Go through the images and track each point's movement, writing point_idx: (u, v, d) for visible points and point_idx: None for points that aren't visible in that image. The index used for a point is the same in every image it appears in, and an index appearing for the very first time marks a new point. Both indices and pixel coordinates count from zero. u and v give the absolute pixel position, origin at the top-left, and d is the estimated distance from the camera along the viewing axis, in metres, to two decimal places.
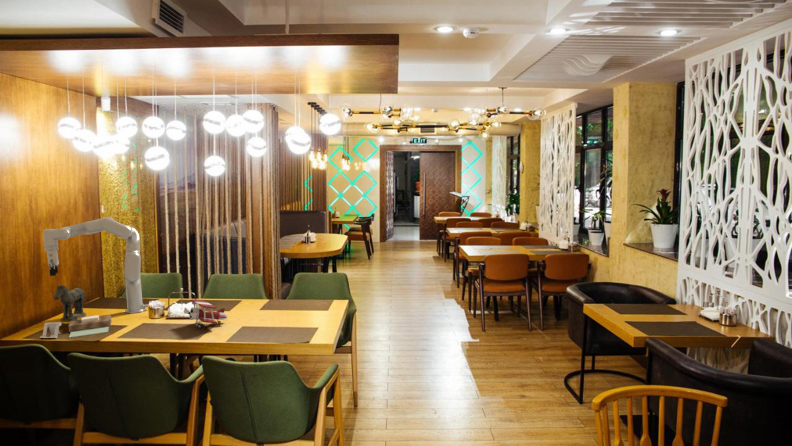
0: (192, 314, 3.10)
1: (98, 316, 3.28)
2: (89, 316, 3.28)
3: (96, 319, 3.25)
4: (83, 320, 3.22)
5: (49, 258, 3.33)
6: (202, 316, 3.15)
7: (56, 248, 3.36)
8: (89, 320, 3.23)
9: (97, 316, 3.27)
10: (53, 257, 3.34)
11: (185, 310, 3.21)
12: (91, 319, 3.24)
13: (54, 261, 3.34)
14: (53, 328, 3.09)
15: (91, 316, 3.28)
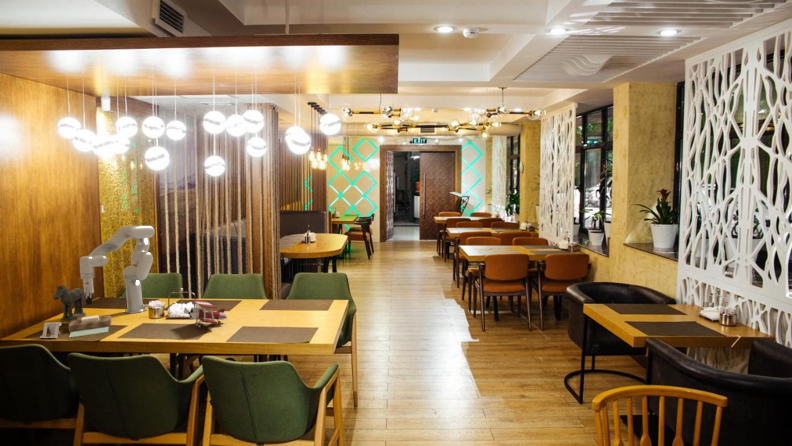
0: (192, 314, 3.10)
1: (98, 316, 3.28)
2: (89, 316, 3.28)
3: (96, 319, 3.25)
4: (83, 320, 3.22)
5: (85, 286, 3.28)
6: (202, 316, 3.15)
7: (92, 276, 3.32)
8: (89, 320, 3.23)
9: (97, 316, 3.27)
10: (89, 285, 3.29)
11: (185, 310, 3.21)
12: (91, 319, 3.24)
13: (90, 289, 3.29)
14: (53, 328, 3.09)
15: (91, 316, 3.28)
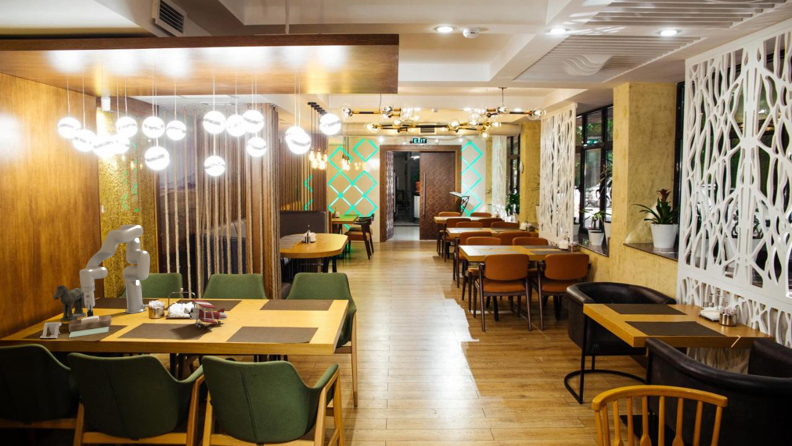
0: (192, 314, 3.10)
1: (98, 316, 3.27)
2: None
3: (96, 319, 3.24)
4: (83, 320, 3.21)
5: (86, 299, 3.23)
6: (202, 316, 3.15)
7: (93, 289, 3.27)
8: (89, 320, 3.23)
9: (97, 316, 3.27)
10: (90, 298, 3.24)
11: (185, 310, 3.21)
12: (91, 319, 3.23)
13: (90, 302, 3.24)
14: (53, 328, 3.09)
15: (91, 316, 3.27)
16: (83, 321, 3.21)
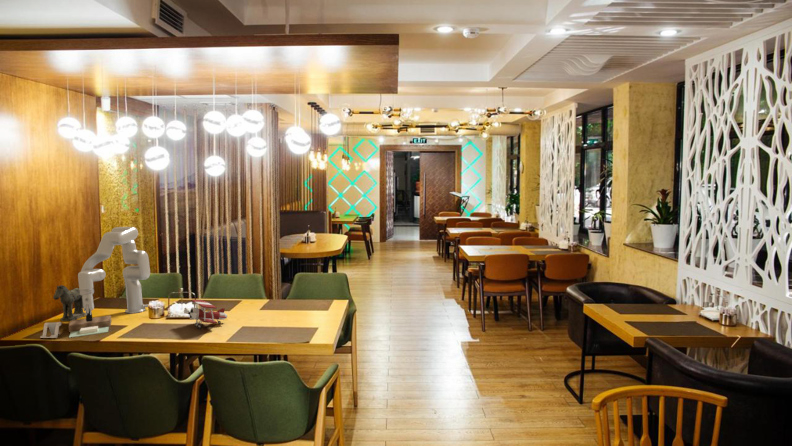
0: (192, 314, 3.10)
1: None
2: (88, 332, 3.12)
3: None
4: None
5: (85, 303, 3.14)
6: (202, 316, 3.15)
7: (92, 292, 3.18)
8: None
9: None
10: (89, 301, 3.15)
11: (185, 310, 3.21)
12: None
13: (89, 306, 3.16)
14: (53, 328, 3.09)
15: None
16: None
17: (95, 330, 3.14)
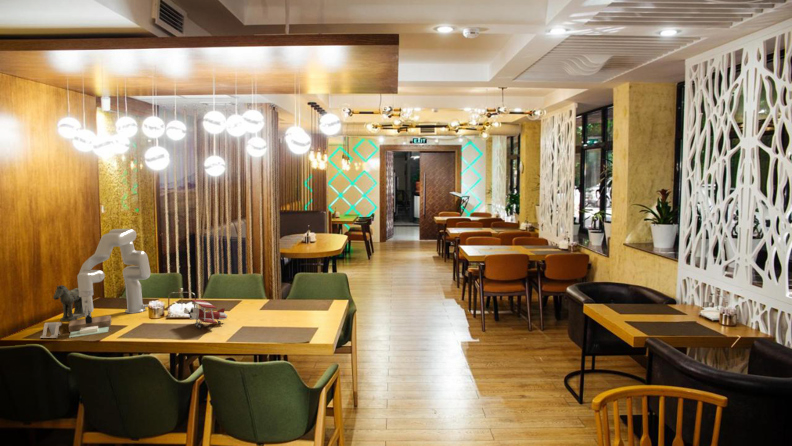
0: (192, 314, 3.10)
1: None
2: (88, 332, 3.12)
3: None
4: None
5: (84, 304, 3.10)
6: (202, 316, 3.15)
7: (91, 293, 3.14)
8: None
9: None
10: (88, 303, 3.11)
11: (185, 310, 3.21)
12: None
13: (89, 308, 3.11)
14: (53, 328, 3.09)
15: None
16: None
17: (95, 330, 3.14)
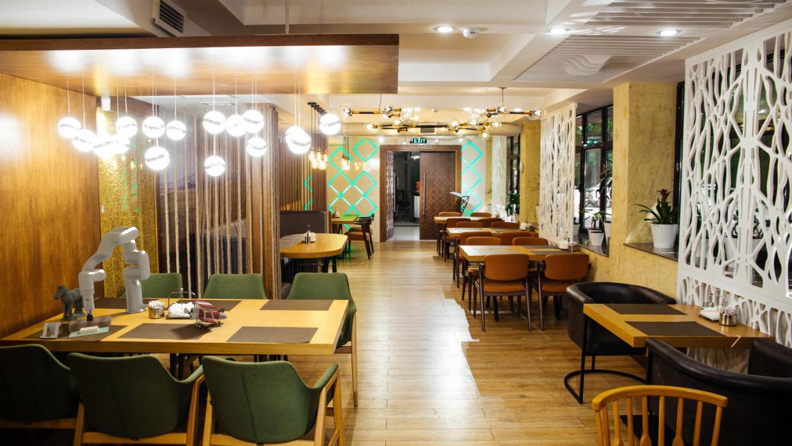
0: (192, 314, 3.10)
1: None
2: (88, 332, 3.12)
3: None
4: None
5: (85, 303, 3.16)
6: (202, 316, 3.15)
7: (92, 292, 3.19)
8: None
9: None
10: (89, 302, 3.17)
11: (185, 310, 3.21)
12: None
13: (90, 306, 3.17)
14: (53, 328, 3.09)
15: None
16: None
17: (95, 330, 3.14)
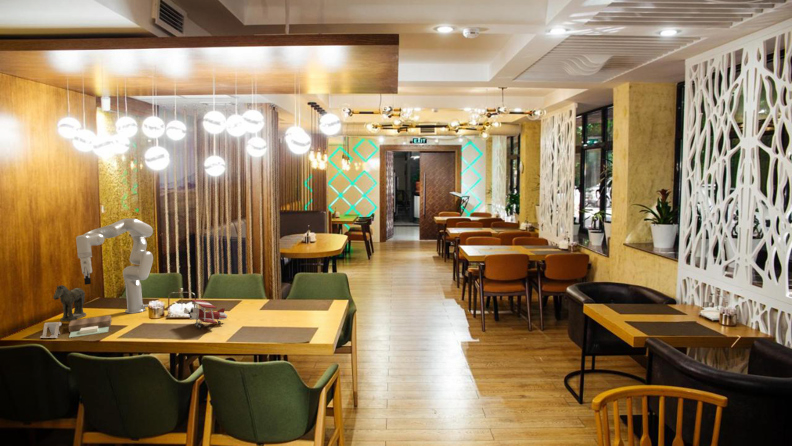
0: (192, 314, 3.10)
1: None
2: (88, 332, 3.12)
3: None
4: None
5: (83, 266, 3.21)
6: (202, 316, 3.15)
7: (90, 255, 3.24)
8: None
9: None
10: (87, 264, 3.21)
11: (185, 310, 3.21)
12: None
13: (88, 269, 3.22)
14: (53, 328, 3.09)
15: None
16: None
17: (95, 330, 3.14)
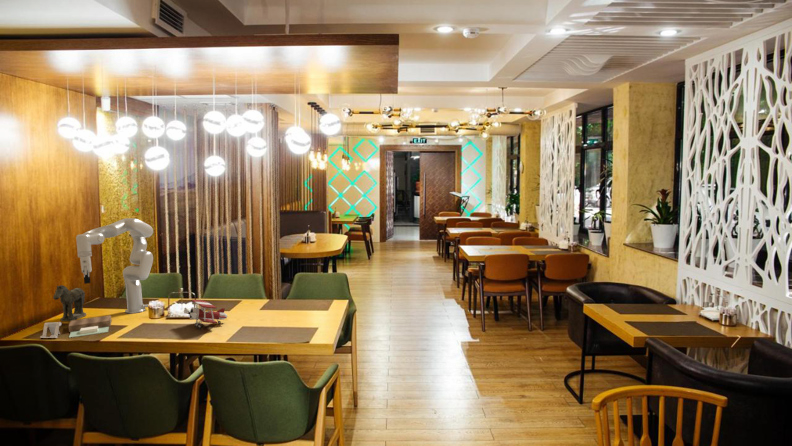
0: (192, 314, 3.10)
1: None
2: (88, 332, 3.12)
3: None
4: None
5: (83, 264, 3.21)
6: (202, 316, 3.15)
7: (89, 254, 3.24)
8: None
9: None
10: (87, 263, 3.21)
11: (185, 310, 3.21)
12: None
13: (87, 268, 3.22)
14: (53, 328, 3.09)
15: None
16: None
17: (95, 330, 3.14)
